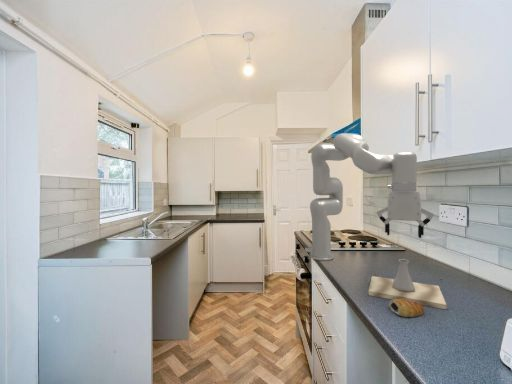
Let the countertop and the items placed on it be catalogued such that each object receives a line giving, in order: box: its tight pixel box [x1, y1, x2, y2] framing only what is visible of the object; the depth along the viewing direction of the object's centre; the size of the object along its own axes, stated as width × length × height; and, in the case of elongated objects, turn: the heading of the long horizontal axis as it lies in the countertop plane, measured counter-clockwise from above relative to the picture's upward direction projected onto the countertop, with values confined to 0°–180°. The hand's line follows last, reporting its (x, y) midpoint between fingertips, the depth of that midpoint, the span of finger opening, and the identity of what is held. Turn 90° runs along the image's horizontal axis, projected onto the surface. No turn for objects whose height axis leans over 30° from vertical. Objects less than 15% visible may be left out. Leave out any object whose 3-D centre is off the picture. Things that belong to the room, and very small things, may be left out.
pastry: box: [388, 299, 425, 318], centre depth 76 cm, size 9×7×4 cm
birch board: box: [368, 275, 448, 311], centre depth 89 cm, size 22×16×2 cm
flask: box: [393, 258, 415, 292], centre depth 89 cm, size 7×7×10 cm
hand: (403, 235), depth 89 cm, fingers open, 9 cm apart
